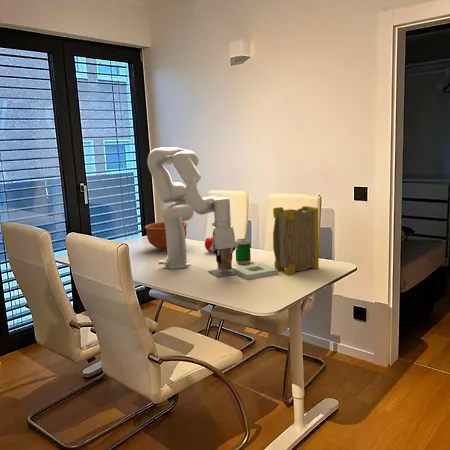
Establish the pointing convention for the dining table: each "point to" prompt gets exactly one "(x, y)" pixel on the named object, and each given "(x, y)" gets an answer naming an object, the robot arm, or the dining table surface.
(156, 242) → the bowl
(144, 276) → the dining table surface
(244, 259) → the soda can
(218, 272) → the rubber mat
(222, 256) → the walnut block
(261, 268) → the pocket board
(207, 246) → the tomato
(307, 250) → the decorative book
